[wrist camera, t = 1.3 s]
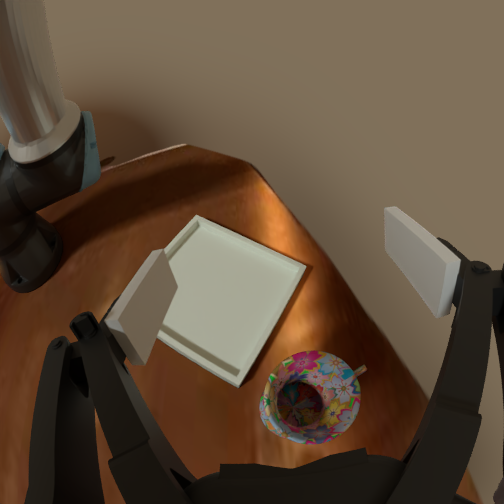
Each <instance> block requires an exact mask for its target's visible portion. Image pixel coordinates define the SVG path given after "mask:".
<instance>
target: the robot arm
mask: <svg viewBox="0 0 504 504" xmlns="http://www.w3.org/2000/svg"><path fill="white" fill-rule="evenodd" d="M0 115H1V117H2V119H3V121H4V123H5V125H6V127H7V129H8V131H9V133H10V134H11V138H10V141H9V146H8V149H7V150H5V147H4V146H3V145H2V144H1V143H0V273H1V275H2V277H3V279H4V281H5V282H6V284H7V285H8V286H9V287H10V288H11V289H12V290H14V291H16V292H19V293H26V292H30V291H32V290H34V289H36V288H38V287H39V286H41V285H42V284H43V283H44V282H45V281H46V280H47V279H48V278H49V277H50V276H51V275H52V273H53V272H54V270H55V269H56V267H57V265H58V263H59V261H60V258H61V255H62V249H63V243H62V239H61V236H60V235H59V233H58V232H57V230H56V228H55V227H54V226H53V225H52V224H50V223H49V222H48V221H46V220H45V219H44V218H42V217H41V216H40V215H39V214H37V213H36V212H37V211H39V210H41V209H43V208H45V207H47V206H49V205H51V204H53V203H55V202H58V201H60V200H62V199H64V198H66V197H69V196H71V195H73V194H75V193H78V192H81V191H82V190H83V189H85V188H87V187H89V186H91V185H92V184H94V183H96V182H97V181H98V180H99V178H100V175H101V169H100V161H99V155H98V149H97V145H96V136H95V130H94V125H93V119H92V115H91V112H90V111H85V112H84V111H82V112H80V109H79V107H78V106H77V104H75V103H74V102H72V101H70V100H65V98H64V94H63V91H62V87H61V84H60V80H59V76H58V72H57V68H56V64H55V60H54V56H53V52H52V47H51V42H50V37H49V32H48V26H47V20H46V13H45V6H44V0H0ZM384 217H385V251H386V252H387V253H388V255H389V256H390V257H391V259H392V260H393V261H394V262H395V263H396V265H397V266H398V267H399V269H400V270H401V271H402V272H403V274H404V275H405V276H406V277H407V279H408V280H409V281H410V283H411V284H412V285H413V287H414V288H415V289H416V291H417V292H418V293H419V295H420V296H421V298H422V299H423V300H424V302H425V303H426V304H427V306H428V307H429V309H430V310H431V311H432V313H433V314H434V316H435V317H436V318H439V317H442V316H445V315H448V314H450V310H451V306H452V303H453V304H454V306H455V307H456V308H457V309H456V312H455V316H454V320H453V323H452V326H451V328H452V330H451V334H450V338H449V342H448V346H447V350H446V353H445V357H444V360H443V364H442V367H441V370H440V373H439V376H438V379H437V382H436V385H435V388H434V391H433V393H432V396H431V399H430V401H429V404H428V406H427V409H426V411H425V414H424V416H423V418H422V421H421V423H420V425H419V428H418V430H417V432H416V434H415V436H414V438H413V440H412V442H411V444H410V446H409V448H408V449H407V451H406V453H405V455H404V456H403V458H402V460H401V461H399V460H397V459H394V458H391V457H387V456H382V455H367V452H366V448H361V449H357V450H353V451H348V452H343V453H338V454H333V455H329V456H327V457H324V458H322V459H319V460H317V461H314V462H311V463H308V464H306V465H303V466H300V467H297V468H293V469H288V468H280V467H273V466H266V465H260V464H220V472H216V473H213V474H209V475H207V476H204V477H202V478H200V479H198V480H197V479H196V478H195V477H194V476H193V475H192V474H191V473H190V472H189V471H188V469H187V468H186V467H185V465H184V464H183V462H182V461H181V460H180V458H179V457H178V455H177V454H176V452H175V451H174V449H173V448H172V446H171V445H170V443H169V442H168V440H167V439H166V437H165V436H164V434H163V432H162V431H161V429H160V427H159V426H158V424H157V422H156V421H155V419H154V417H153V416H152V414H151V412H150V410H149V409H148V407H147V405H146V403H145V401H144V400H143V398H142V396H141V394H140V392H139V390H138V388H137V386H136V384H135V382H134V380H133V378H132V376H131V374H130V372H129V370H128V368H127V367H126V365H125V364H124V360H125V358H126V357H127V358H128V360H129V361H130V363H131V364H132V365H146V362H147V360H148V357H149V355H150V352H151V350H152V347H153V345H154V342H155V340H156V337H157V335H158V333H159V330H160V328H161V325H162V323H163V321H164V318H165V316H166V314H167V311H168V309H169V307H170V305H171V302H172V300H173V298H174V295H175V293H176V291H177V289H178V285H177V283H176V280H175V278H174V275H173V273H172V270H171V267H170V265H169V262H168V260H167V257H166V254H165V251H164V249H160V250H155V251H152V252H151V254H150V255H149V256H148V258H147V259H146V261H145V262H144V263H143V265H142V266H141V267H140V269H139V270H138V272H137V273H136V274H135V276H134V277H133V279H132V280H131V282H130V283H129V284H128V286H127V287H126V289H125V290H124V292H123V293H122V294H121V295H120V296H119V297H118V298H117V299H115V300H114V302H113V303H112V305H111V306H110V308H109V309H108V311H107V313H106V314H105V315H104V317H103V318H102V320H101V321H100V323H99V324H98V322H97V320H96V318H95V317H94V315H93V313H92V312H89V311H88V312H83V313H81V314H79V315H78V316H76V317H75V318H74V319H73V320H72V321H71V323H70V326H69V327H70V328H71V330H72V332H73V333H74V335H75V336H76V338H77V339H78V341H77V342H73V343H70V342H69V341H68V339H67V338H66V337H65V336H61V337H58V338H55V339H54V340H52V341H51V343H50V344H49V346H48V348H47V352H46V356H45V359H44V363H43V368H42V372H41V376H40V381H39V386H38V391H37V396H36V402H35V408H34V415H33V422H32V431H31V441H30V454H29V486H28V490H27V494H26V499H25V503H24V504H105V502H104V496H103V490H102V484H101V478H100V470H99V463H98V454H97V443H96V429H95V409H96V412H97V415H98V418H99V421H100V424H101V427H102V430H103V432H104V435H105V438H106V440H107V443H108V446H109V448H110V451H111V453H112V456H113V458H112V459H110V460H109V461H108V464H109V468H110V470H111V473H112V475H113V477H114V479H115V482H116V484H117V486H118V488H119V490H120V492H121V494H122V496H123V498H124V500H125V502H126V504H476V503H474V502H472V501H470V500H468V499H466V498H464V497H462V496H460V495H458V494H456V491H457V489H458V487H459V484H460V482H461V480H462V477H463V475H464V472H465V470H466V467H467V465H468V462H469V459H470V457H471V454H472V451H473V448H474V444H475V442H476V438H477V435H478V432H479V428H480V425H481V419H482V416H481V414H478V410H479V406H480V402H481V397H482V392H483V388H484V382H485V376H486V371H487V364H488V357H489V349H490V339H491V327H492V324H493V329H494V333H495V338H496V344H497V350H498V355H499V363H500V370H501V379H502V389H503V404H504V264H503V268H502V270H494V271H492V270H491V268H490V267H489V265H487V264H485V263H483V262H480V261H469V260H468V259H467V258H466V257H465V256H464V255H463V254H462V253H461V252H459V251H457V249H456V248H455V247H453V246H452V245H451V244H450V243H449V242H448V241H446V240H443V239H441V238H435V237H434V236H433V235H432V234H430V233H429V232H428V231H427V230H426V229H424V228H423V227H422V226H421V225H419V224H418V223H416V221H414V220H413V219H412V218H410V217H409V216H408V215H407V214H405V213H404V212H402V211H401V210H400V209H399V208H397V207H396V206H394V207H388V208H384ZM503 406H504V405H503ZM493 500H494V502H495V504H504V442H503V478H502V480H501V482H500V483H499V486H498V489H497V490H496V491H495V493H494V496H493Z"/></svg>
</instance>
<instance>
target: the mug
mask: <svg viewBox="0 0 504 504" xmlns="http://www.w3.org/2000/svg"><path fill="white" fill-rule="evenodd" d="M366 370H367V368H366V366H365V365H363V366H361V367H359V368H358V369H356V370H354V371H353V370H352V369H351V368H350V367H349V366H348V365H347V364H346V363H345V362H344V361H343V360H341V359H340V358H338V357H337V356H335V355H332V354H330V353H327V352H322V351H304V352H300V353H297V354H294V355H292V356H290V357H288V358H286V359H285V360H283V361H282V362H281V363H280V364H279V365H278V366H277V367H276V368H275V369H274V370H273V372H272V373H271V375H270V377H269V378H268V381H267V383H266V386H265V391H264V392H263V394H262V396H261V400H260V405H259V409H260V415H261V418H262V421H263V423H264V424H265V426H266V427H267V428H268V429H269V430H270V431H271V432H273V433H274V434H276V435H278V436H280V437H283V438H288V439H290V440H292V441H294V442H298V443H302V444H320V443H324V442H328V441H330V440H332V439H334V438H336V437H338V436H339V435H341V434H342V433H343V432H345V431H346V430H347V429H348V428H349V426H350V425H351V424H352V422H353V421H354V419H355V417H356V415H357V413H358V410H359V406H360V400H361V393H360V386H359V383H358V380H357V376H359V375H360V374H362V373H364V372H365V371H366Z"/></svg>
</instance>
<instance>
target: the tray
mask: <svg viewBox="0 0 504 504" xmlns="http://www.w3.org/2000/svg"><path fill="white" fill-rule="evenodd" d="M164 251H165V254H166V257H167V260H168V262H169V265H170V267H171V270H172V273H173V275H174V278H175V280H176V283H177V285H178V289H177V291H176V293H175V295H174V298H173V300H172V302H171V305H170V307H169V309H168V311H167V314H166V316H165V318H164V321H163V323H162V325H161V328H160V330H159V333H158V335H157V338H158V339H160V340H161V341H162V342H164V343H165V344H167V345H168V346H170V347H171V348H173V349H174V350H176V351H177V352H179V353H180V354H182V355H184V356H185V357H187V358H188V359H190V360H191V361H193V362H195V363H196V364H198V365H199V366H201V367H203V368H204V369H206V370H208V371H209V372H211V373H213V374H214V375H216V376H218V377H220V378H221V379H223V380H225V381H227V382H228V383H230V384H232V385H234V386H236V387H237V388H239V387H240V385H241V384H242V382H243V381H244V379H245V377H246V376H247V374H248V372H249V371H250V369H251V367H252V366H253V364H254V362H255V361H256V359H257V357H258V356H259V354H260V352H261V350H262V349H263V347H264V345H265V343H266V342H267V340H268V338H269V337H270V335H271V333H272V331H273V329H274V328H275V326H276V324H277V322H278V321H279V319H280V317H281V315H282V313H283V312H284V310H285V308H286V306H287V304H288V302H289V301H290V299H291V297H292V295H293V293H294V291H295V289H296V288H297V286H298V284H299V282H300V280H301V278H302V276H303V274H304V272H305V269H306V267H307V266H305V265H303V264H301V263H299V262H297V261H295V260H293V259H290V258H288V257H286V256H284V255H282V254H280V253H278V252H275V251H273V250H271V249H269V248H267V247H265V246H263V245H260V244H258V243H256V242H254V241H252V240H250V239H248V238H245V237H243V236H241V235H239V234H237V233H235V232H233V231H230V230H228V229H226V228H224V227H222V226H220V225H217V224H215V223H213V222H211V221H209V220H206V219H204V218H202V217H200V216H198V215H196V216H195V217H194V218H193V219H192V220H191V221H190V222H189V223H188V224H187V225H186V226H185V227H184V229H183V230H182V231H181V232H180V233H179V234H178V235H177V236H176V237H175V238H174V239H173V240H172V241H171V242H170V244H169V245H168V246H167V247H166V248H165V249H164Z"/></svg>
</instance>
